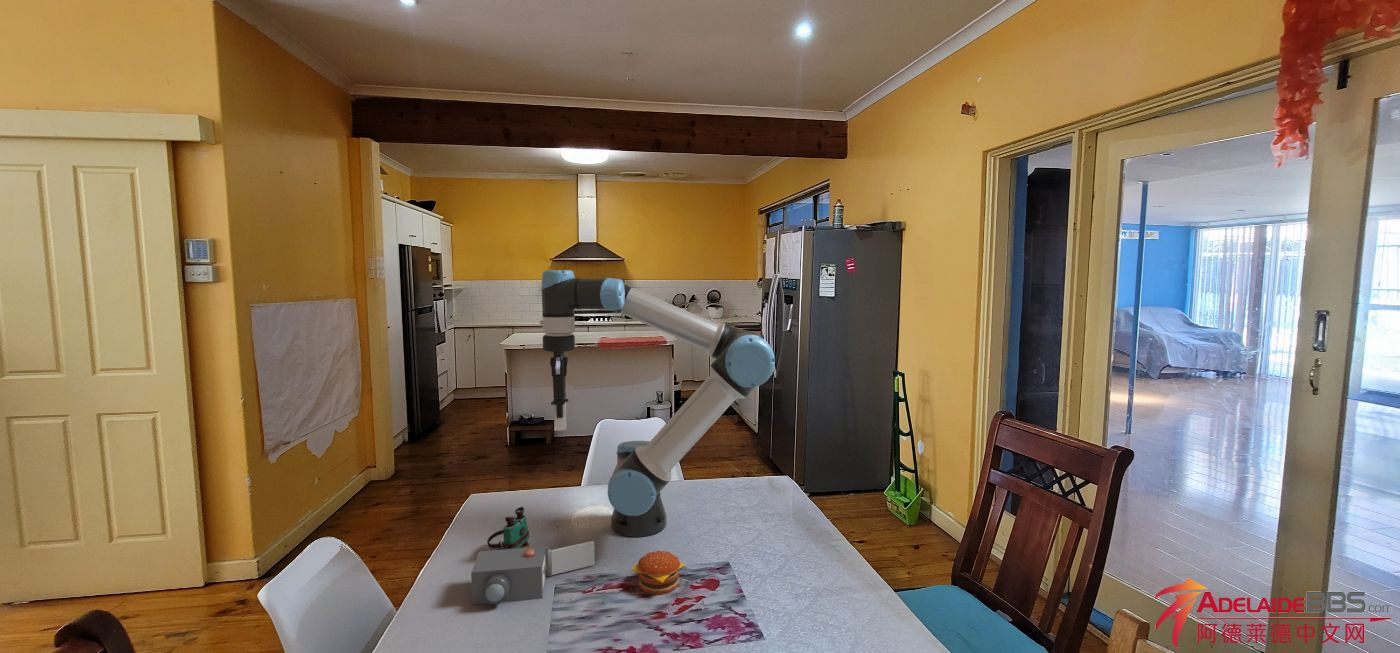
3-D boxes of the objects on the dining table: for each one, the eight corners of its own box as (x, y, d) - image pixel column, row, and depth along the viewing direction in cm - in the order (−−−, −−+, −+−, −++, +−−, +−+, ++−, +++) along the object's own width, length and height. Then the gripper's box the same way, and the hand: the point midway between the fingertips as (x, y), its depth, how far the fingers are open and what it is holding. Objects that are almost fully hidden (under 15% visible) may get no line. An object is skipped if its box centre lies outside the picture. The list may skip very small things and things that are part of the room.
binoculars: (496, 505, 142) (532, 505, 140) (501, 545, 143) (537, 545, 141) (475, 520, 134) (513, 520, 132) (481, 562, 134) (518, 563, 132)
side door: (546, 574, 127) (545, 549, 127) (593, 563, 133) (593, 538, 132) (547, 576, 126) (546, 551, 126) (594, 565, 132) (594, 540, 131)
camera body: (546, 575, 128) (546, 542, 127) (542, 605, 116) (541, 569, 115) (480, 581, 125) (479, 547, 124) (469, 612, 113) (468, 575, 113)
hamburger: (629, 587, 123) (628, 558, 123) (655, 568, 131) (655, 541, 131) (663, 600, 118) (663, 570, 118) (688, 580, 126) (688, 552, 126)
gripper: (544, 331, 141) (546, 423, 143) (540, 337, 128) (542, 437, 130) (575, 331, 142) (576, 422, 145) (573, 336, 130) (575, 436, 132)
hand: (560, 429), depth 137 cm, fingers closed
